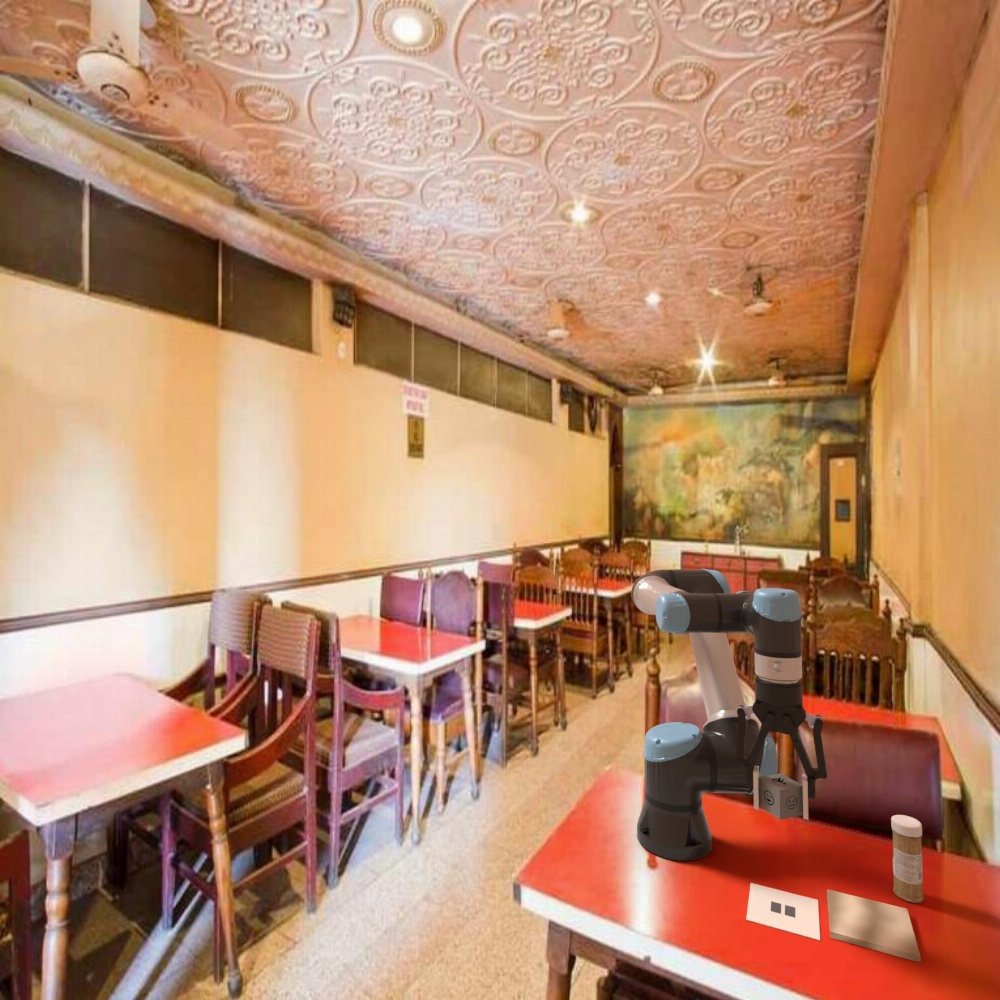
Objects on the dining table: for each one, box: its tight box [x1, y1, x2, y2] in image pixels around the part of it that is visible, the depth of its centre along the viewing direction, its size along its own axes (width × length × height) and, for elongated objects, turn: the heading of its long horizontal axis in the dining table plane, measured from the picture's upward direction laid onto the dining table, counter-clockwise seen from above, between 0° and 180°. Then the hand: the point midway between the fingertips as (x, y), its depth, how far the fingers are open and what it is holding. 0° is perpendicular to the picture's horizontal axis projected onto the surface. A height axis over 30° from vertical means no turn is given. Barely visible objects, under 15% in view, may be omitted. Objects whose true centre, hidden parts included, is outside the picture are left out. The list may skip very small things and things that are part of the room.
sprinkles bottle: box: [890, 814, 925, 904], centre depth 105 cm, size 5×5×13 cm
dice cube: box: [759, 772, 803, 820], centre depth 102 cm, size 5×5×5 cm
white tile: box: [745, 882, 821, 941], centre depth 102 cm, size 11×11×1 cm
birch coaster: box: [826, 888, 922, 963], centre depth 97 cm, size 12×12×1 cm
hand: (780, 810), depth 102 cm, fingers closed on dice cube, 7 cm apart
